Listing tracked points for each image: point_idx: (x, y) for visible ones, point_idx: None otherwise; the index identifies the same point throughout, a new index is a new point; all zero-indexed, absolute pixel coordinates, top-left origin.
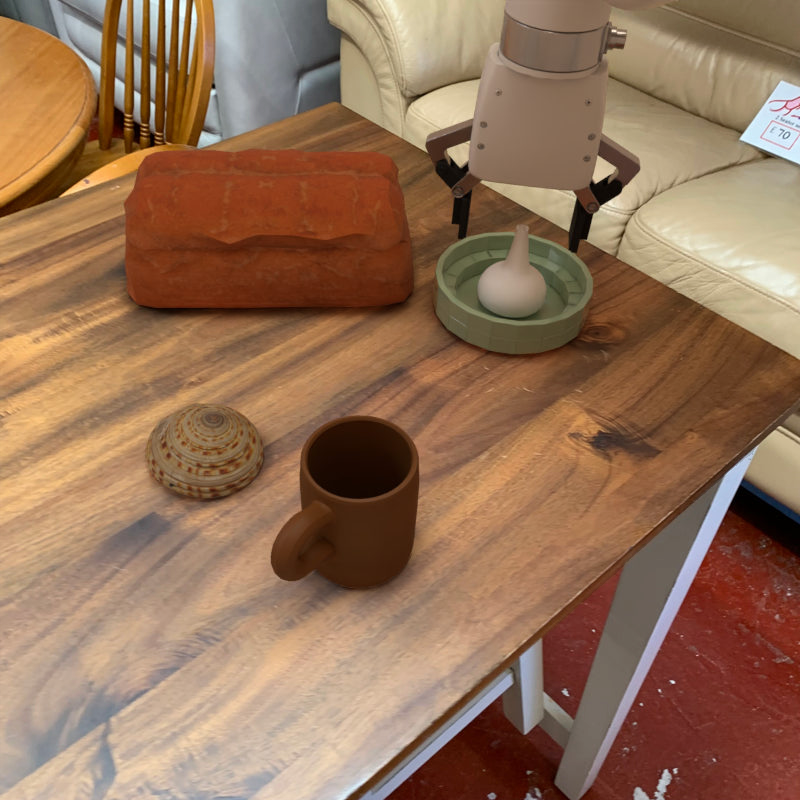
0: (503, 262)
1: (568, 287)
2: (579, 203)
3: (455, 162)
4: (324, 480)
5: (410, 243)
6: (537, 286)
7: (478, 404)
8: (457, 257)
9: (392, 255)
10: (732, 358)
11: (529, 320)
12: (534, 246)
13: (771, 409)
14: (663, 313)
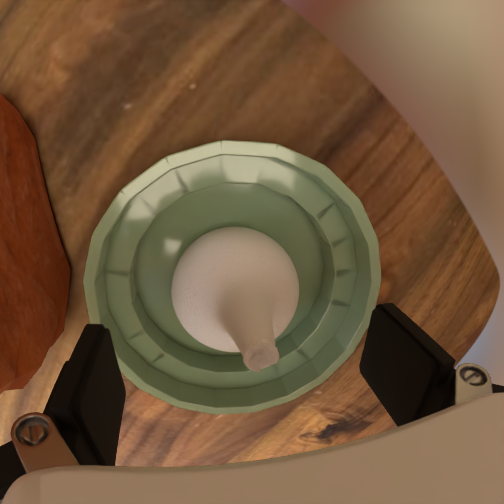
0: (215, 300)
1: (336, 258)
2: (426, 398)
3: (8, 486)
4: None
5: (23, 256)
6: (284, 327)
7: (210, 431)
8: (116, 224)
9: (22, 386)
10: (471, 294)
11: None
12: (279, 161)
13: (467, 348)
14: (440, 232)
